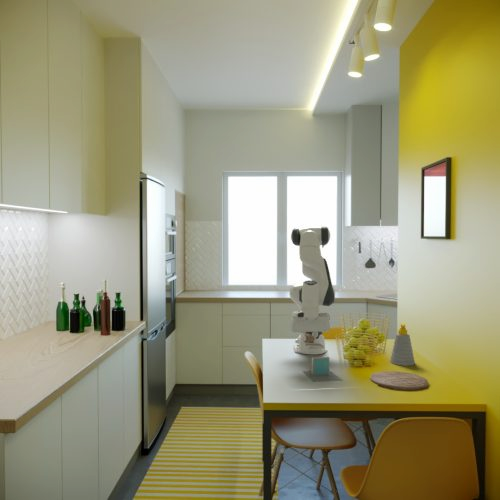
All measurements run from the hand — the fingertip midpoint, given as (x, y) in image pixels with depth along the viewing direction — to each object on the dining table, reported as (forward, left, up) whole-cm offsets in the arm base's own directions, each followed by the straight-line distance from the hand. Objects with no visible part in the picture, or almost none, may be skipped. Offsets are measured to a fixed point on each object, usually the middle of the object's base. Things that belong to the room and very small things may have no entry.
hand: (309, 340), depth 241 cm
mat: (+18, 0, -13) cm, 22 cm away
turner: (+3, 0, -2) cm, 3 cm away
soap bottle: (-1, +51, -13) cm, 53 cm away
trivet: (+31, +32, -14) cm, 47 cm away
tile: (+16, 0, -13) cm, 20 cm away
